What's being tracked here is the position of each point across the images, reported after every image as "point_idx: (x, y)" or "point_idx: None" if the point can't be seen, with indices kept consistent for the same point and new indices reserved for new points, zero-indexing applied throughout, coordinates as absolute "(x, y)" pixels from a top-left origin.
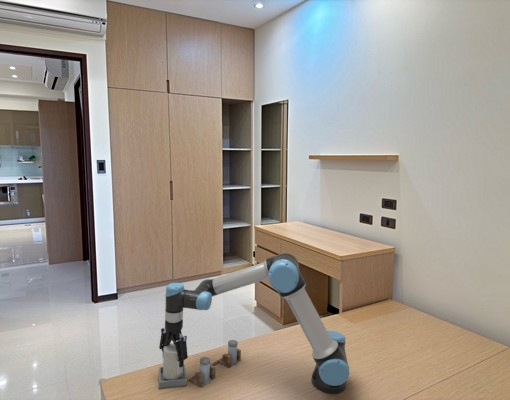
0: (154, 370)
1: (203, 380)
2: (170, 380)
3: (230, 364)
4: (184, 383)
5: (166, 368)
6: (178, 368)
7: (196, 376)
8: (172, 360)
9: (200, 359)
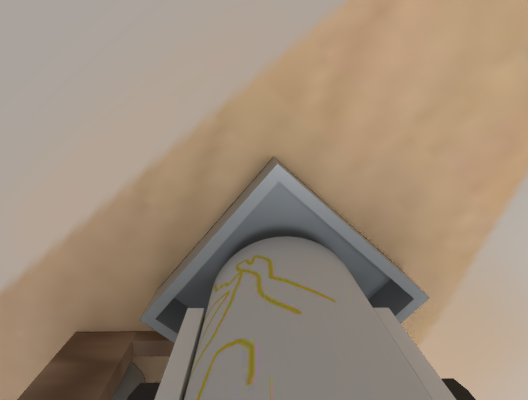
0: (452, 273)
1: None
2: (222, 238)
3: None
4: (157, 292)
5: (285, 285)
6: (171, 359)
7: (85, 382)
8: None
9: None
